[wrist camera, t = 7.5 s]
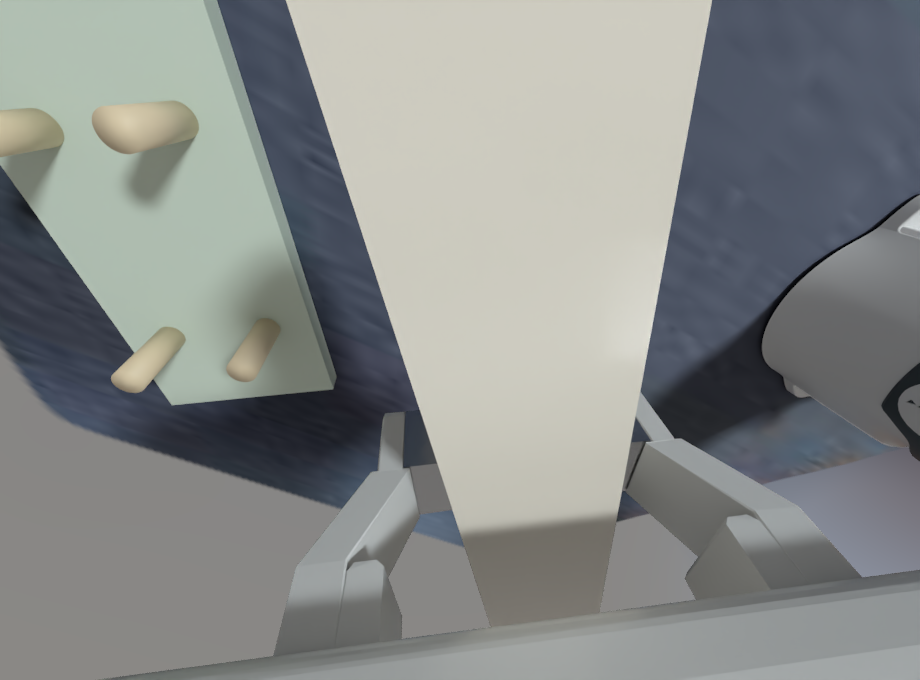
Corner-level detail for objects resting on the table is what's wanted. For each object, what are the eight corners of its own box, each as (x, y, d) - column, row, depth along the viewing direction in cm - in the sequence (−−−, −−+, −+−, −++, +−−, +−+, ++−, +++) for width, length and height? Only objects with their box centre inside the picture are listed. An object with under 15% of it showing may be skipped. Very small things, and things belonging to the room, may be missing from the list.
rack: (-109, -44, 15) (-372, -106, 10) (200, -53, 15) (100, -115, 10) (182, 391, 29) (134, 454, 24) (336, 376, 29) (321, 435, 24)
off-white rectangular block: (363, 32, 6) (268, -56, 2) (532, -2, 6) (741, -154, 2) (479, 510, 16) (501, 659, 12) (548, 497, 16) (594, 643, 12)
